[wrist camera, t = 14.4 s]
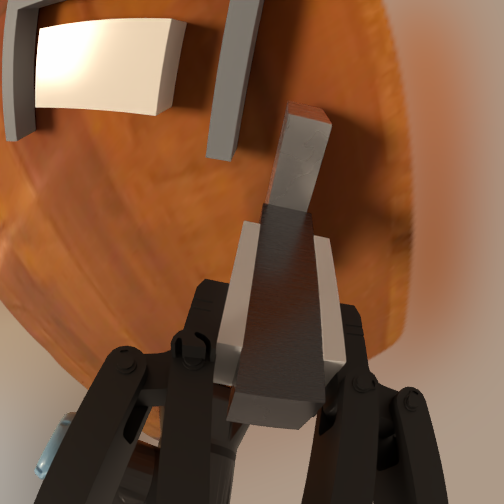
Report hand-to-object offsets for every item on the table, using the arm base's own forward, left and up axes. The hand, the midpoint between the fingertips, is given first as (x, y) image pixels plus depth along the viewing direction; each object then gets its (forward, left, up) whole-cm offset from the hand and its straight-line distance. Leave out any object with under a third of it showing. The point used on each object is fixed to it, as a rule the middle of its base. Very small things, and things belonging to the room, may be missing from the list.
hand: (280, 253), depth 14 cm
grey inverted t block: (0, 0, -6) cm, 6 cm away
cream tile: (+7, +13, -8) cm, 17 cm away
